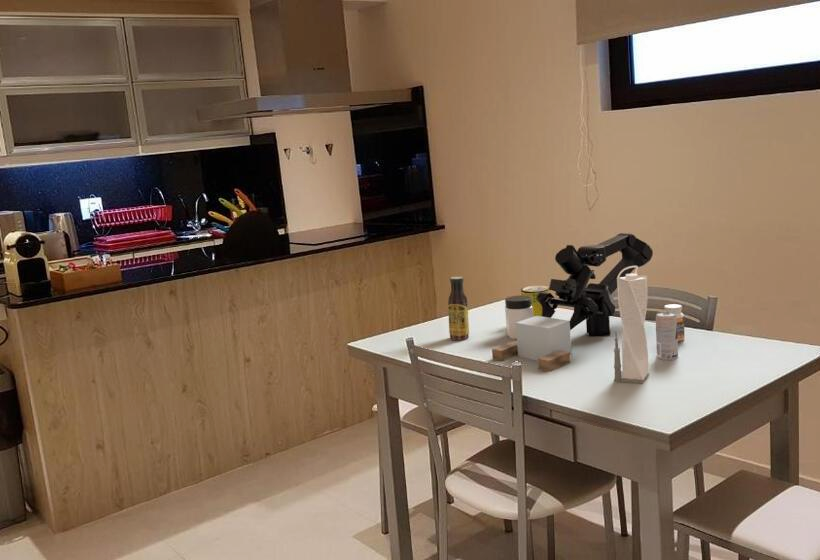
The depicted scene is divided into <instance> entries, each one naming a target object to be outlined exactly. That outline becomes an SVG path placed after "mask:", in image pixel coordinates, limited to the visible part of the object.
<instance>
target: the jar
mask: <svg viewBox="0 0 820 560" xmlns="http://www.w3.org/2000/svg"><path fill="white" fill-rule="evenodd" d="M504 301H505V302H504V303H505V306H504V311H505V323H506V324H505V325H506V335H507V337H509V339H511V340H513V339H516V340H517V333H516V323H517V322H519V321H522V320H525V319H528V318H531V317H533V307H532V300H531V297H530V296H524V295H521V294H519V295H512V296H511V295H510V296H508V297H506V298H505V299H504Z"/></svg>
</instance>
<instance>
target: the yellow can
mask: <svg viewBox="0 0 820 560" xmlns="http://www.w3.org/2000/svg"><path fill="white" fill-rule="evenodd" d="M540 292H546V293H550V290H549V286H546V285H529V286H525V287H522V288H521V289H520V293H521V294H520V295H524V296H530V297H531V300H532V307H533V317H534V316H542V305H541V304H540V303H539V302H538V300H537V299H536V298H537V296H538V294H539V293H540Z"/></svg>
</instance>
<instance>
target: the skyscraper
mask: <svg viewBox="0 0 820 560" xmlns="http://www.w3.org/2000/svg"><path fill="white" fill-rule="evenodd" d="M629 268H635V269H634V270H635V271H634V273H632V272H631V273H630V274H626V277H620V278H619V276H620V274H621V273H622V272H623V271H624V270H626V269H629ZM638 269H639V267H638V266H629V267H626V268H624V269H623V270H622V271H621V272H620V273H619V275H618V277H617V299H618V300H617V302H618V309H619V315H620V321H621V325H622V336H621V348H620V347H619V342H618V341H619V338H618V332H617V331H615V332H614V333H615V338H614V348H613V352H614V359H613V360H614V365H613V368H614V369H613V370H614V378H613V383H615V382H616V383H627V384H639V385H640V384H641V385H643V383H645V381H646V379H648V377H649V375H650V371H649V369H650V368H649V365H650V364H649V349H648V339H647V332H646V327H645V322H646V315H647V309H648V308H647V307H648V293H649V291H648V287H649V286H648V276H647V275H639V274H638ZM620 350H621V351H620ZM620 352H621V354H620ZM621 359H622V361H621ZM621 362H622V363H621Z"/></svg>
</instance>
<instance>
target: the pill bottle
mask: <svg viewBox="0 0 820 560" xmlns="http://www.w3.org/2000/svg"><path fill="white" fill-rule="evenodd" d="M682 310H683V307H682V305H681V304H676V303H673V304H672V303H671V304H669V303H668V304H665V305H664V312H673V313H676V316H677V338H678V342H681V341H683V340H684V339H685V315H684V313H683V312H682Z"/></svg>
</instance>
